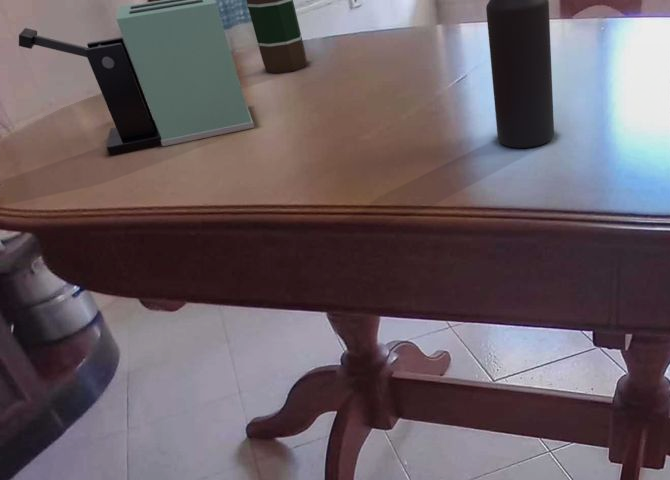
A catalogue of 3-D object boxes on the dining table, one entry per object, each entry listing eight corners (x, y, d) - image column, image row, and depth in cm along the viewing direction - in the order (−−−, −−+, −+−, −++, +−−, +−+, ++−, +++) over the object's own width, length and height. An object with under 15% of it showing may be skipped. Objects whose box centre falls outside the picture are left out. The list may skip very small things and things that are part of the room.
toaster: (162, 146, 95) (113, 18, 85) (162, 125, 103) (118, 5, 93) (254, 127, 98) (217, 1, 88) (247, 108, 106) (212, -10, 96)
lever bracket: (110, 156, 94) (67, 56, 86) (113, 136, 101) (74, 42, 93) (171, 143, 96) (135, 44, 88) (171, 124, 103) (137, 31, 95)
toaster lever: (18, 50, 86) (18, 30, 85) (24, 42, 90) (25, 23, 89) (119, 74, 91) (121, 55, 90) (121, 66, 95) (123, 47, 94)
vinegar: (546, 149, 81) (537, -47, 69) (491, 148, 83) (472, -43, 71) (559, 129, 86) (553, -58, 74) (506, 128, 88) (492, -54, 76)
